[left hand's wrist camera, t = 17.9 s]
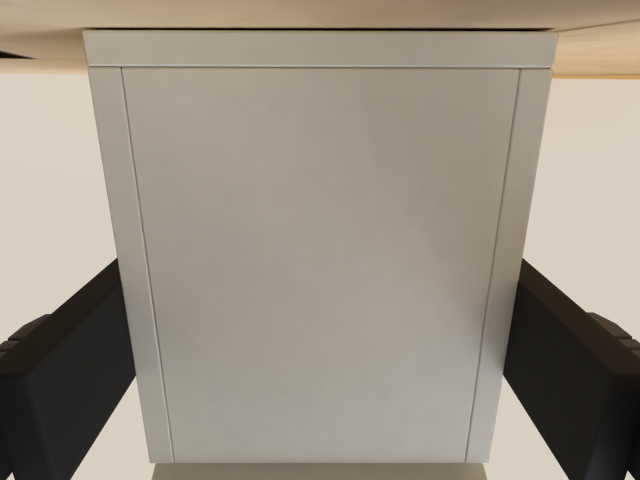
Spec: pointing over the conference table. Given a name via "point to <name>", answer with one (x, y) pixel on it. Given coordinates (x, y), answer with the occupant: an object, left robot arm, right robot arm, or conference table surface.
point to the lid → (319, 471)
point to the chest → (319, 234)
